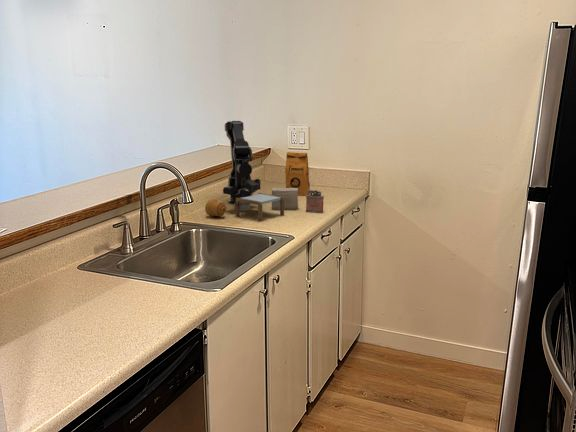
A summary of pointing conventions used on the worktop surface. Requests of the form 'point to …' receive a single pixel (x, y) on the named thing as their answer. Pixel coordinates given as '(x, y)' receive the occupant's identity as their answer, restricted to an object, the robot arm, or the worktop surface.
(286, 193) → the grey block
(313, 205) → the lighter
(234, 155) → the robot arm
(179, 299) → the worktop surface
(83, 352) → the worktop surface
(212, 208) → the ornamental finial
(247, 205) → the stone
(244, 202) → the stand
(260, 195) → the trapdoor
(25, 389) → the worktop surface
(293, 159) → the coffee package
